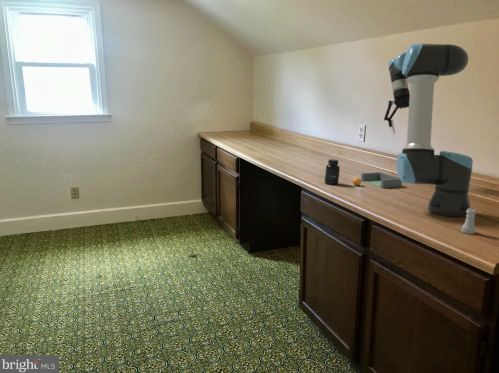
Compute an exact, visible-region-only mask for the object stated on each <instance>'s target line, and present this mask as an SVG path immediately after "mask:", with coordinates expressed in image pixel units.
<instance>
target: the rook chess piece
mask: <svg viewBox="0 0 499 373" xmlns="http://www.w3.org/2000/svg"><path fill="white" fill-rule="evenodd" d="M466 213H467V215H466V217H465V218H466V219H465V221H464V223H463V225H462V226H461V229H460V230H461V232H462V233H464V234H468V235H474V234H476V230H477V228H476V225H475V218H476V214H478V212H477V210H476V209H475V208H471V210H470V208H469V209H467V211H466Z"/></svg>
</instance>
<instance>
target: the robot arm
mask: <svg viewBox="0 0 499 373" xmlns="http://www.w3.org/2000/svg"><path fill="white" fill-rule="evenodd" d="M468 64H469V55H468V52H467V51H466V50H465V49H464V48H463V47H461V46H459V45H456V44H450V43H447V44H443V43H442V44H441V43H435V44H434V43H417V44H411V45H410V46H408V48H407V50H406V52H402V53H400V54H399V55H398V56H397V57H396V58H394V59H391V60H390V61H389V62H388V71H389V77H390V82H391V87H392V88H391V89H392V91H393V93H392V94H393V99H394V100H389V101H388V102H387V108H386V112H385V115H384V118H383V121H387V122H388V123H387V124H388V127H389V128H390V129H391V134H392V135H394V134H395V133H396V130H395V124H394V123H395V122H394V119H393V117H394V116H395V114H396V113H397V111H398V110H399V109H400V110H401V109H402V110H403V109H407V108H408V120H407V133H406V134H407V137H406V145H405V146H404V147H403V148H402V151H401V152H399V153H398V154H397V157H396V159H397V160H396V169H397V170H396V172H397V177H398V178H399V179H400V180H401V181H402V184H403V183H404V184H411V185H414V184H415V185H429V186H433V185H434V186H435V189H434V191H433V194H432V195H431V198H430V200H429V201H428V206H427V210H428V211H429V212H431V213H433V214H437V215H440V216H445V217H452V218H453V217H454V218H466V215H467V213H466V211H467V209H469V208H470V210H472V208H471V204H470V198H469V189H470V182H471V179H472V178H471V177H472V171H473V161H474V160H473V158H472V157H471V156H469V155H466V154H462V153H457V152H453V151H448V150H445V151H444V150H440V152H439V154H435V149H434V147H433V146H432V145H431V144H432V143H431V142H432V128H433V127H432V125H433V124H432V123H433V111H434V110H433V108H434V107H433V105H434V92H435V83H436V82H437V81H439V78H440V76H441V77H443V76H445V77H446V76H454V75H457V74H459V73H460V72H462V71H464V70H465V69H466V67H467V65H468ZM393 105H395V107H394V109H393V111H392V112H391V114H390V111H391V108H392V106H393ZM389 115H390V116H389Z"/></svg>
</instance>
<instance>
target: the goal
mask: <svg viewBox="0 0 499 373" xmlns="http://www.w3.org/2000/svg"><path fill="white" fill-rule="evenodd" d="M360 177H361V178H360V179H361V182H364V183H366V184H370V185H372V186H375V187H378V188H381V189H391V188H401V187H402V185H403V182H402V181H401V180H400V179H399V176H394V175H391V174H387V173H384V172H380V171H376V172H362V173H361V176H360Z"/></svg>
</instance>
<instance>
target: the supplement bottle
mask: <svg viewBox="0 0 499 373" xmlns="http://www.w3.org/2000/svg"><path fill="white" fill-rule="evenodd" d="M340 169H341V168H340V166H339V160H338V159H333V158H330V159H328V163H327V165H326V166H325V171H324V172H325V173H324V174H325V175H324V184H326V185H330V186H336V185H339V179H340V172H341V171H340Z"/></svg>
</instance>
